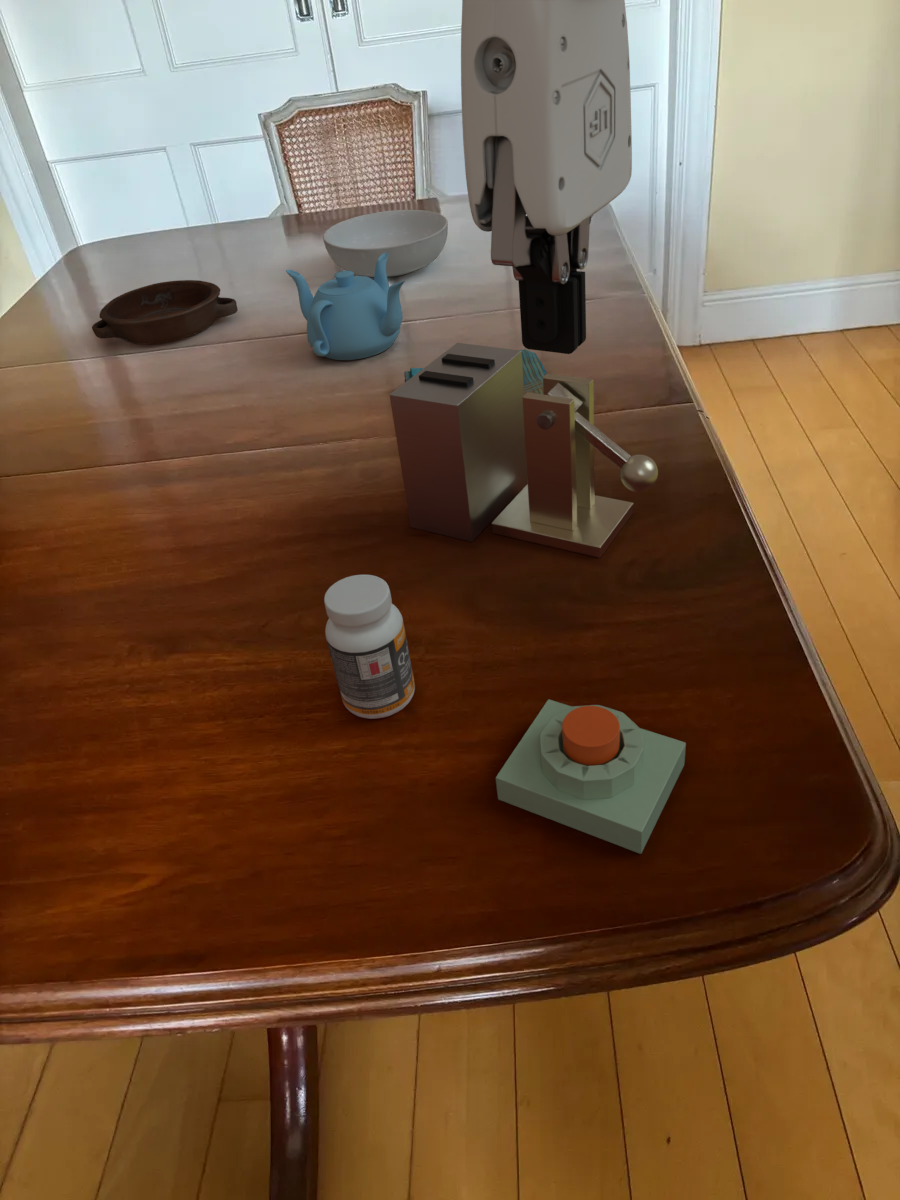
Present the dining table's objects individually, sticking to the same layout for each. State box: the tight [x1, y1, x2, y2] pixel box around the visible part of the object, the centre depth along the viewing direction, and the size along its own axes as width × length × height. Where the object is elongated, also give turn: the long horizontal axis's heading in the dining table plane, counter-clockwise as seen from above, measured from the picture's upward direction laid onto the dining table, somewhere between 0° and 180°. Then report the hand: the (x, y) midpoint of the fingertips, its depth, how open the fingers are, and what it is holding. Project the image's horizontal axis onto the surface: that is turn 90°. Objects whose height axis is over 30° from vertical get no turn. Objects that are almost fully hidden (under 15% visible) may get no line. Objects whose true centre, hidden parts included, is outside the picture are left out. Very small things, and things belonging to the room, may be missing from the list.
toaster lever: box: [547, 383, 659, 493], centre depth 78 cm, size 12×3×3 cm
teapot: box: [285, 253, 406, 361], centre depth 123 cm, size 15×15×10 cm
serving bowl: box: [322, 209, 449, 279], centre depth 150 cm, size 21×21×7 cm
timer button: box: [562, 705, 620, 765], centre depth 57 cm, size 4×4×2 cm
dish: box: [91, 279, 238, 345], centre depth 138 cm, size 18×22×5 cm
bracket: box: [491, 373, 634, 559], centre depth 81 cm, size 11×8×14 cm
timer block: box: [495, 698, 687, 855], centre depth 59 cm, size 10×8×4 cm
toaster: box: [389, 342, 528, 543], centre depth 85 cm, size 7×12×14 cm, turn 150°
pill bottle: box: [323, 574, 416, 720], centre depth 66 cm, size 6×6×10 cm
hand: (554, 345), depth 50 cm, fingers closed
